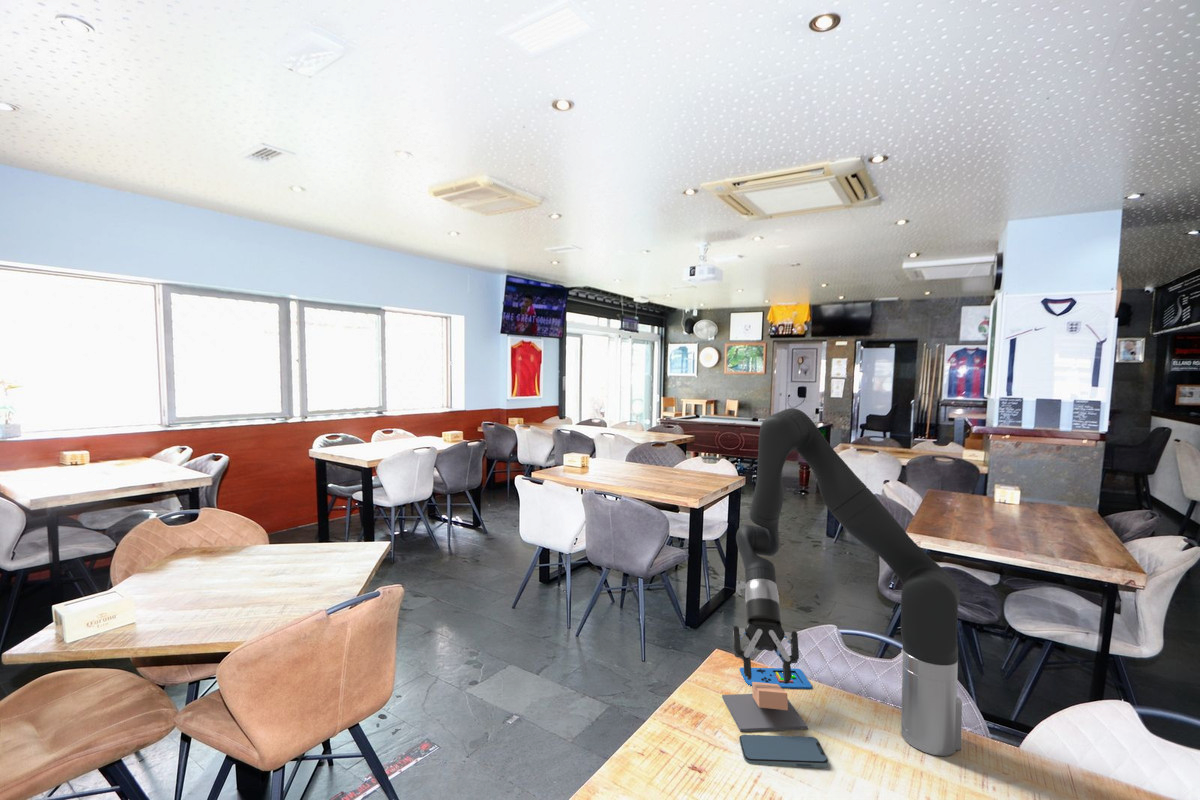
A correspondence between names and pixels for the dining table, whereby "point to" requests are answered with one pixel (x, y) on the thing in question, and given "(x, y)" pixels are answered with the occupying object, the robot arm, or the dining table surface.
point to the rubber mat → (761, 715)
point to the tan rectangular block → (769, 696)
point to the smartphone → (783, 751)
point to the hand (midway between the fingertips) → (768, 680)
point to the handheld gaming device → (778, 677)
